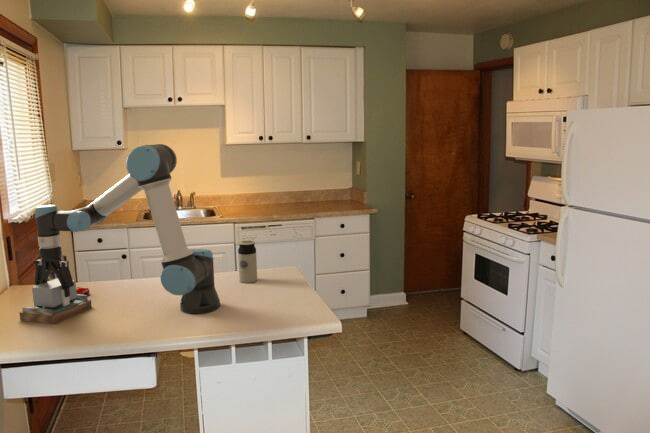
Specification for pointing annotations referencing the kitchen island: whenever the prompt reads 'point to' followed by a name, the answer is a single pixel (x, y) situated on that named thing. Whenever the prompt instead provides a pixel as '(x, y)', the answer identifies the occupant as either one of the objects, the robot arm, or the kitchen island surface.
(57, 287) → the grey cart
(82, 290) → the race car
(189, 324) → the kitchen island surface
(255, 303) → the kitchen island surface
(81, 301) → the tray
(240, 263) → the travel mug
